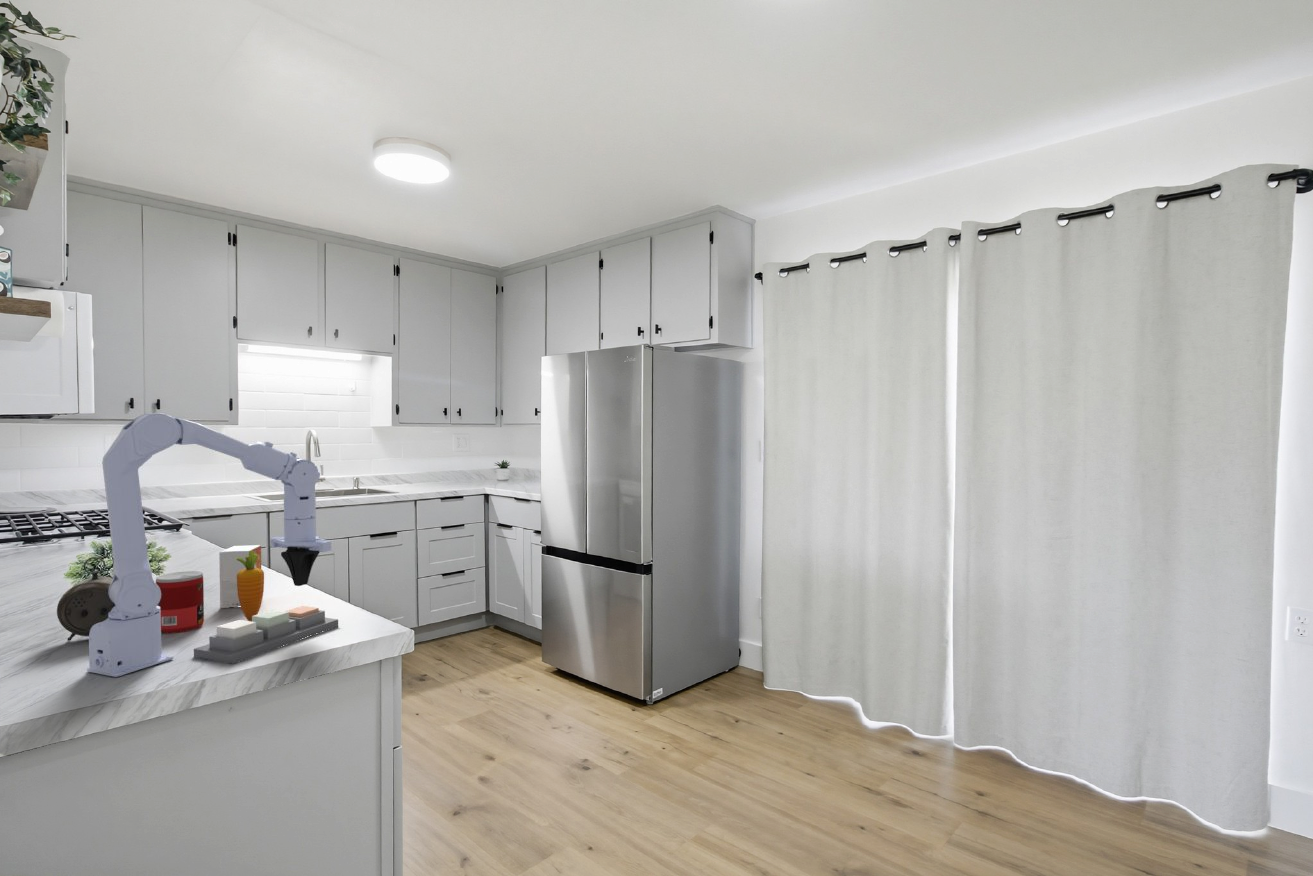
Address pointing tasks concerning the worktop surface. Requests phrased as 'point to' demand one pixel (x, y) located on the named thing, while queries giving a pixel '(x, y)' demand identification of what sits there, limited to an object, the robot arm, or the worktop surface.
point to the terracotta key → (302, 611)
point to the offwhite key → (236, 629)
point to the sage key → (270, 618)
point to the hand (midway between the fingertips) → (301, 584)
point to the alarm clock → (85, 604)
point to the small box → (234, 572)
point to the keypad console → (264, 639)
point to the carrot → (250, 586)
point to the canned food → (181, 601)
